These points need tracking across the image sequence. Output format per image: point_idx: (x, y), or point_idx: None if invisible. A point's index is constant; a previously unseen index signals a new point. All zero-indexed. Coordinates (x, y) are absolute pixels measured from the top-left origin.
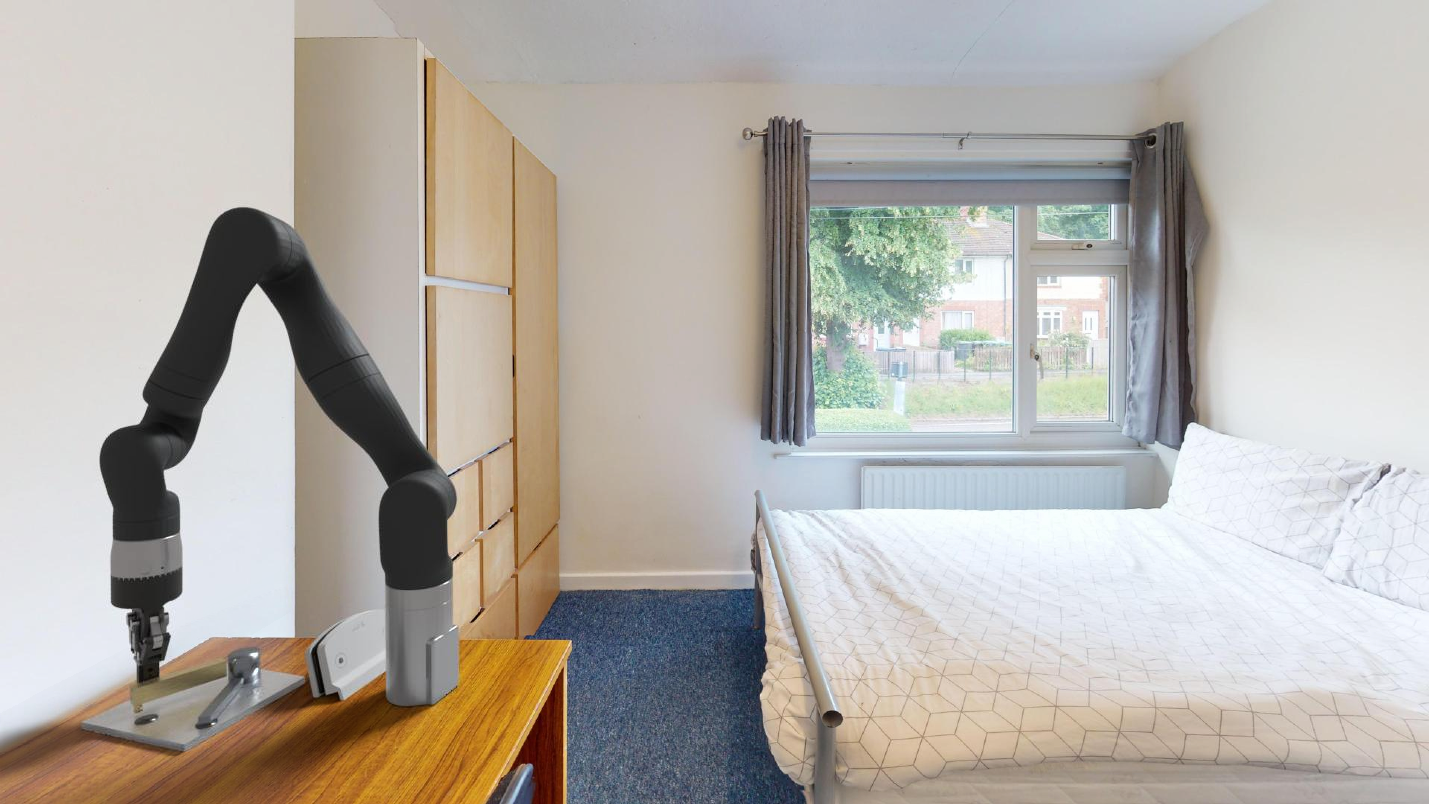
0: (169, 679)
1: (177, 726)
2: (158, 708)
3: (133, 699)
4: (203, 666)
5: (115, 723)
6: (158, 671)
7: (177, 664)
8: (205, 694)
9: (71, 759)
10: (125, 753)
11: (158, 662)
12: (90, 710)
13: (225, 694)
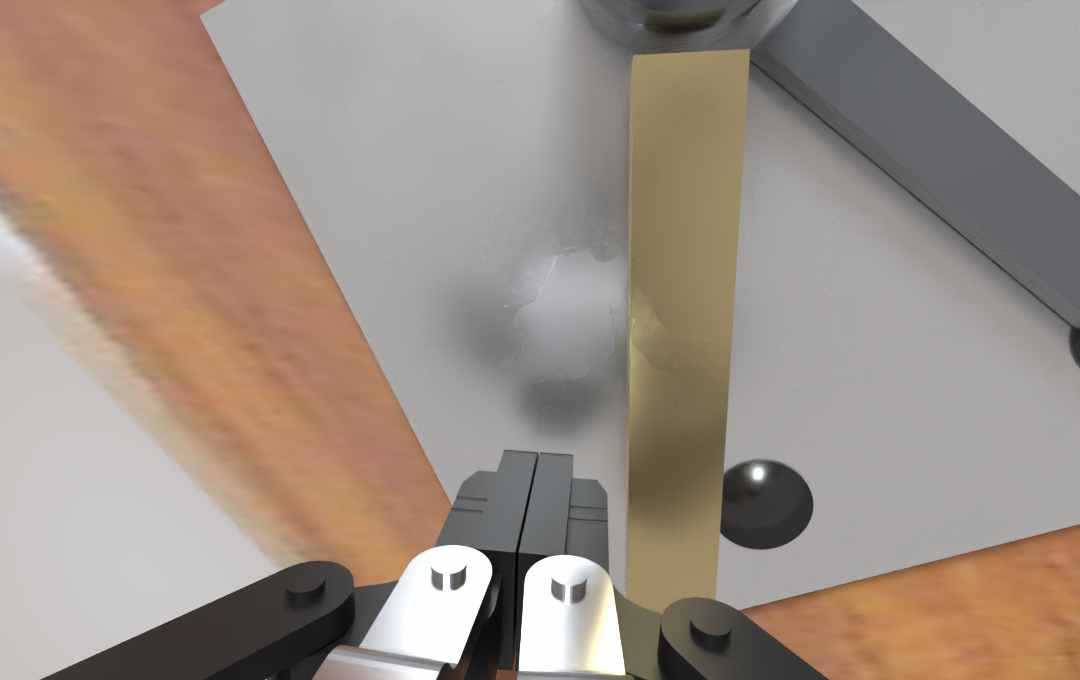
0: (723, 472)
1: (998, 437)
2: None
3: None
4: (711, 242)
5: None
6: (567, 508)
7: (51, 176)
8: None
9: None
10: (941, 600)
11: (563, 554)
12: (364, 571)
13: (1000, 168)
